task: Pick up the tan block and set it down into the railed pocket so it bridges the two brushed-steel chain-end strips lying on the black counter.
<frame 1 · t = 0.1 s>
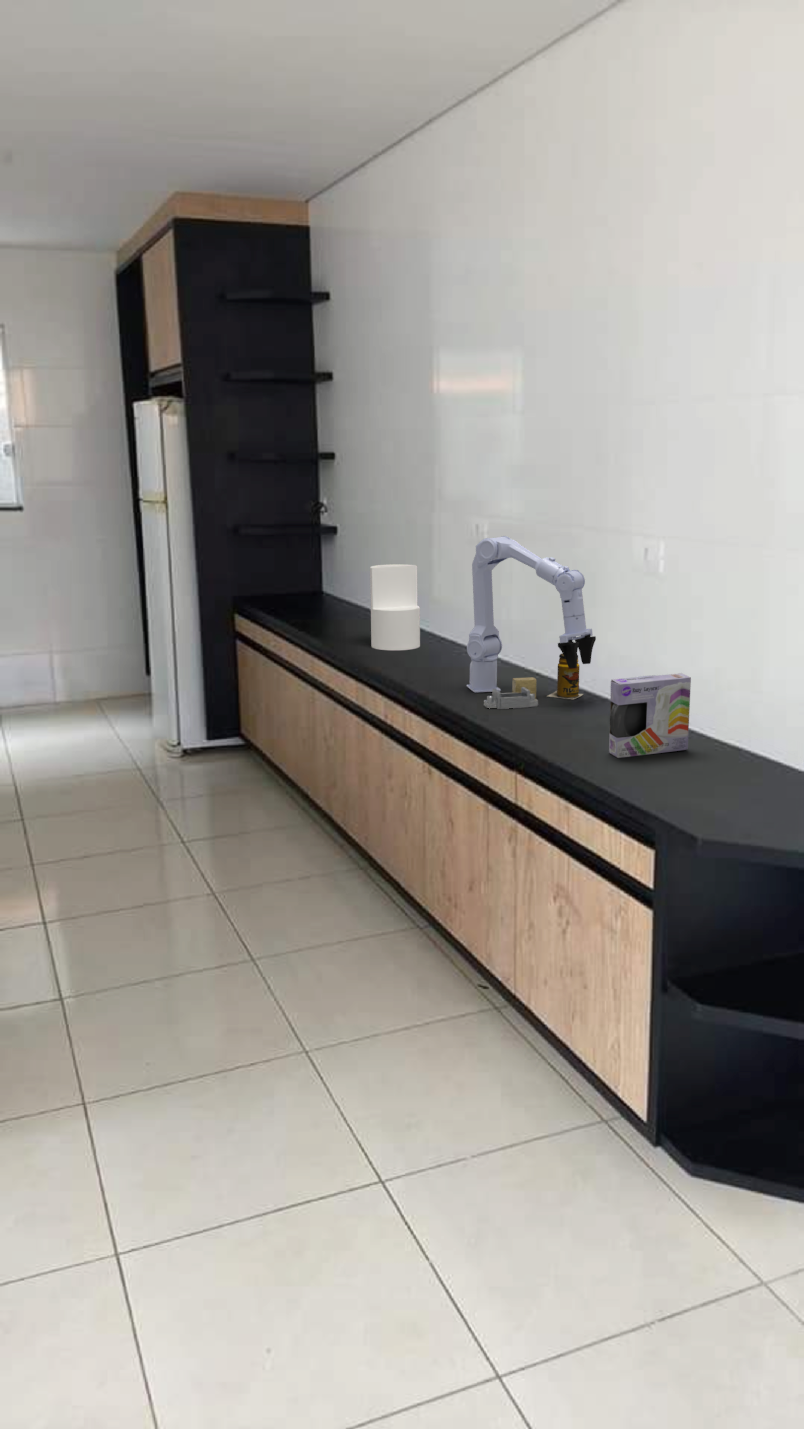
hand: (579, 665, 304), 11 cm above the table, tool pointing down, fingers open, 7 cm apart
tan block: (524, 698, 315), on the table
cylinder: (395, 646, 399), on the table
cake pan box: (646, 753, 258), on the table
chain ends: (510, 705, 305), on the table
condiment: (565, 696, 317), on the table
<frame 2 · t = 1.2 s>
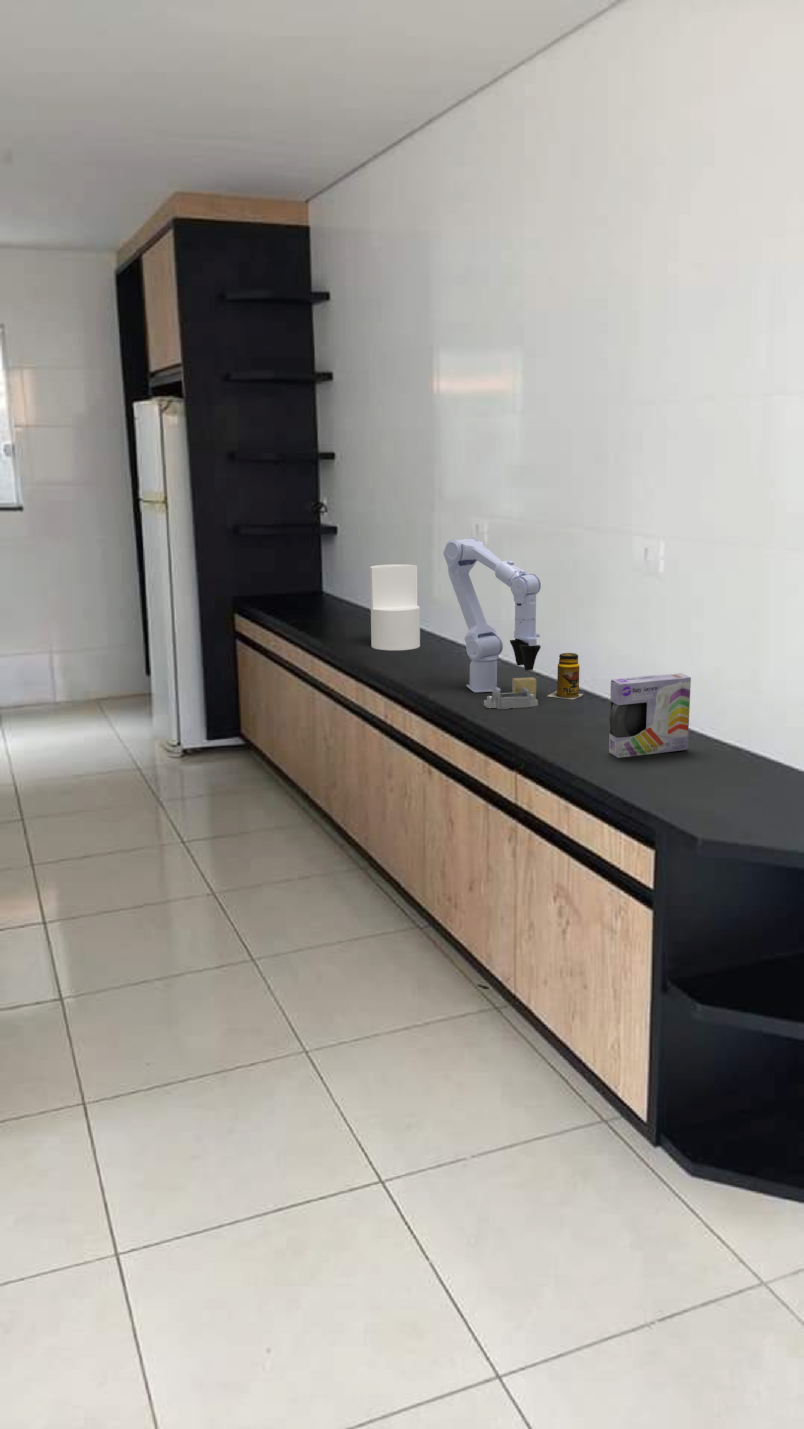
hand: (524, 667, 313), 9 cm above the table, tool pointing down, fingers open, 7 cm apart
nothing on the table moved.
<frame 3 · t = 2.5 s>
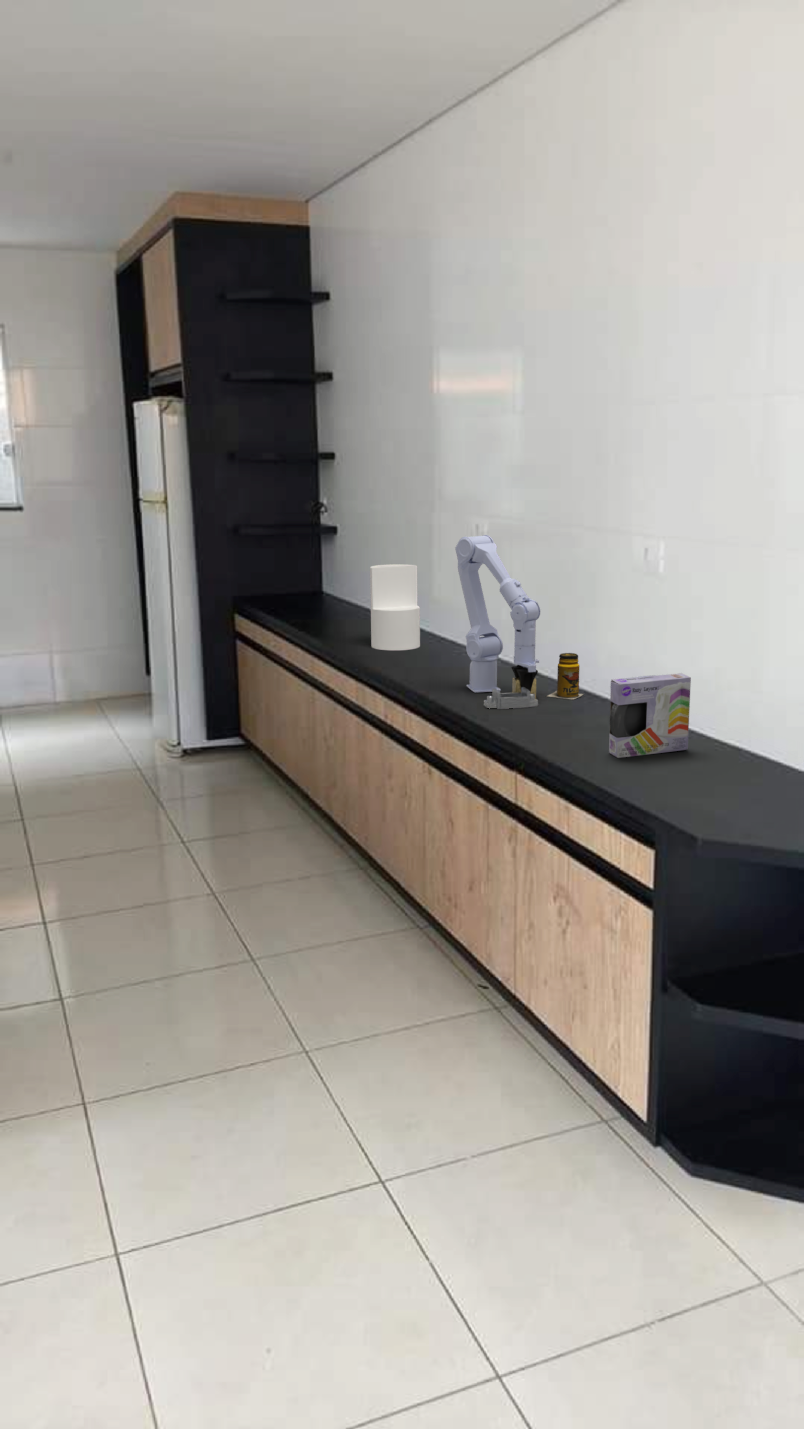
hand: (524, 692, 315), 1 cm above the table, tool pointing down, fingers closed on tan block, 3 cm apart
tan block: (524, 697, 315), on the table, touching gripper
everything else where it was.
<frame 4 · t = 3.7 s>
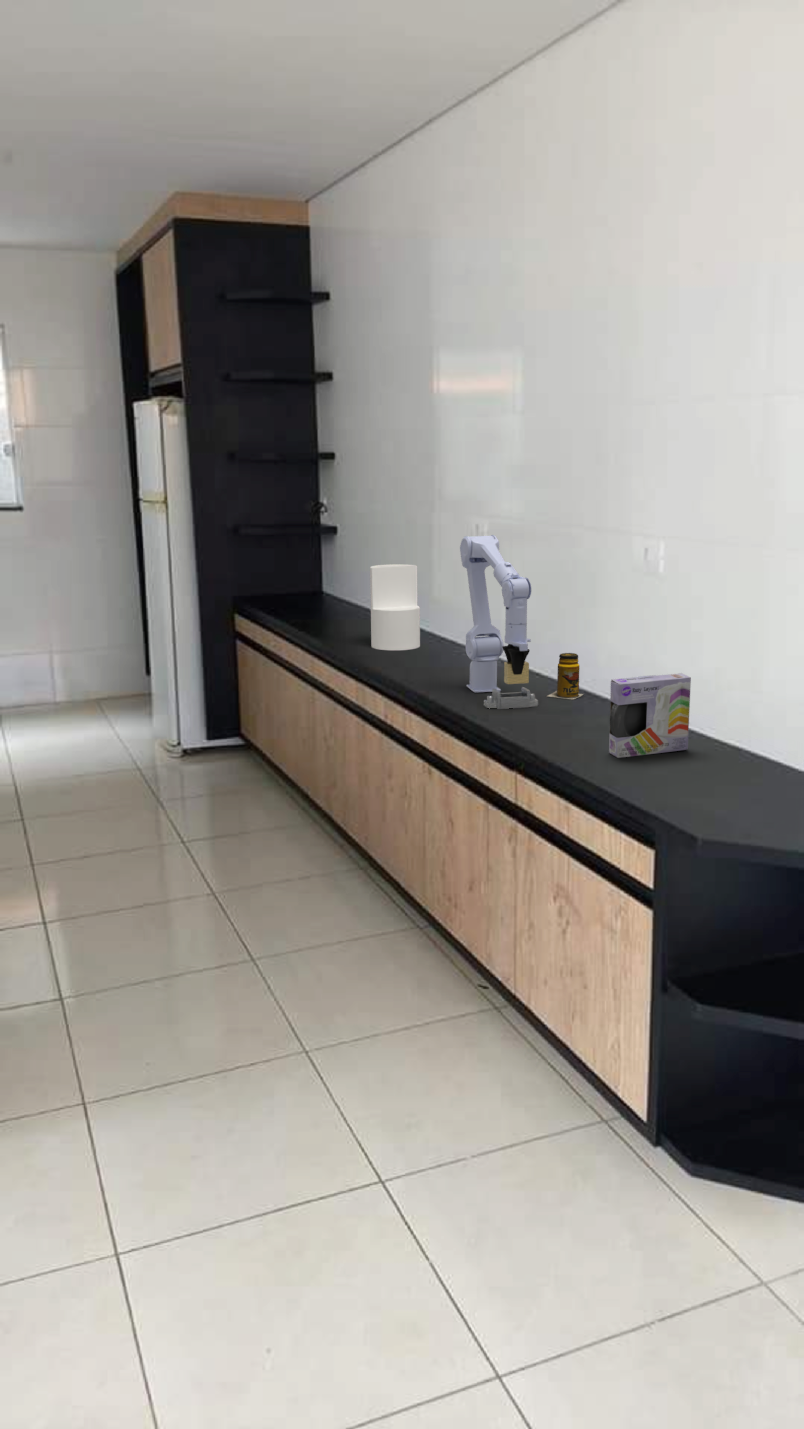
hand: (515, 673, 306), 9 cm above the table, tool pointing down, fingers closed on tan block, 3 cm apart
tan block: (516, 682, 307), point 6 cm above the table, touching gripper
everything else where it was.
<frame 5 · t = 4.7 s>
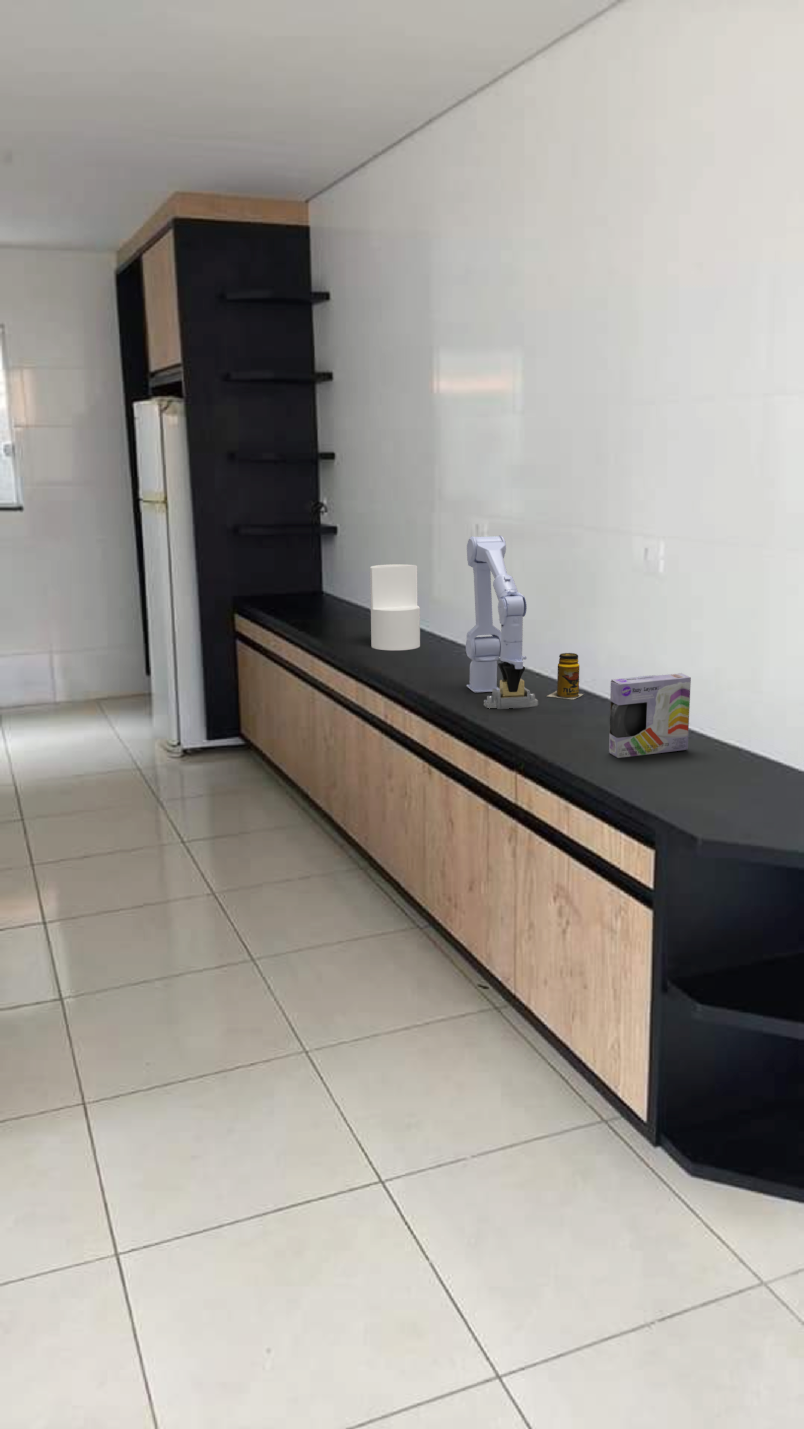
hand: (511, 690, 304), 4 cm above the table, tool pointing down, fingers closed on tan block, 3 cm apart
tan block: (511, 700, 305), point 2 cm above the table, touching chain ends, gripper
everything else where it was.
when the fingers open (4 cm above the table, at t = 5.0 s): tan block stays where it is, resting on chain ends.
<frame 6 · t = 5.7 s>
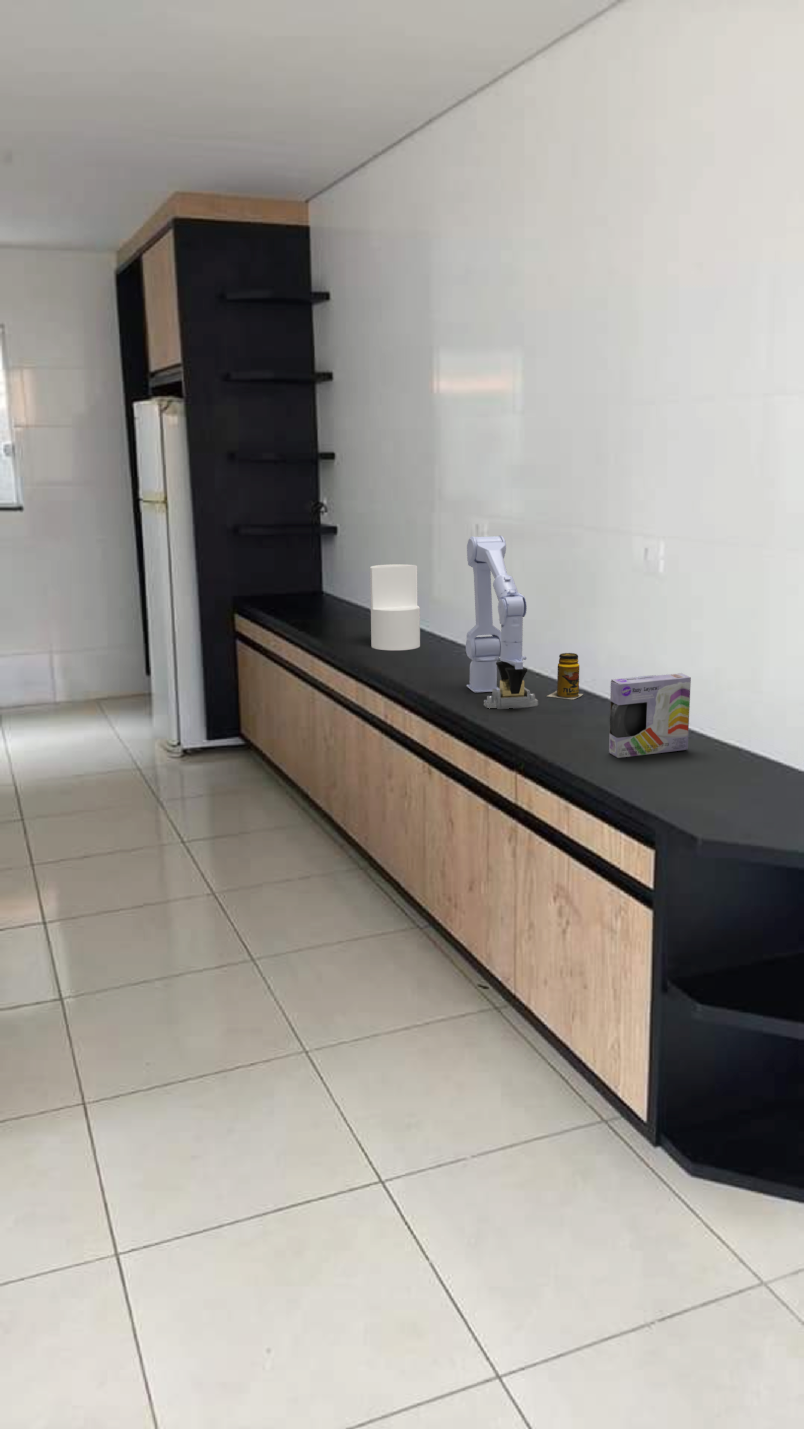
hand: (511, 690, 304), 4 cm above the table, tool pointing down, fingers open, 7 cm apart
tan block: (511, 700, 305), point 2 cm above the table, touching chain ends
everything else where it was.
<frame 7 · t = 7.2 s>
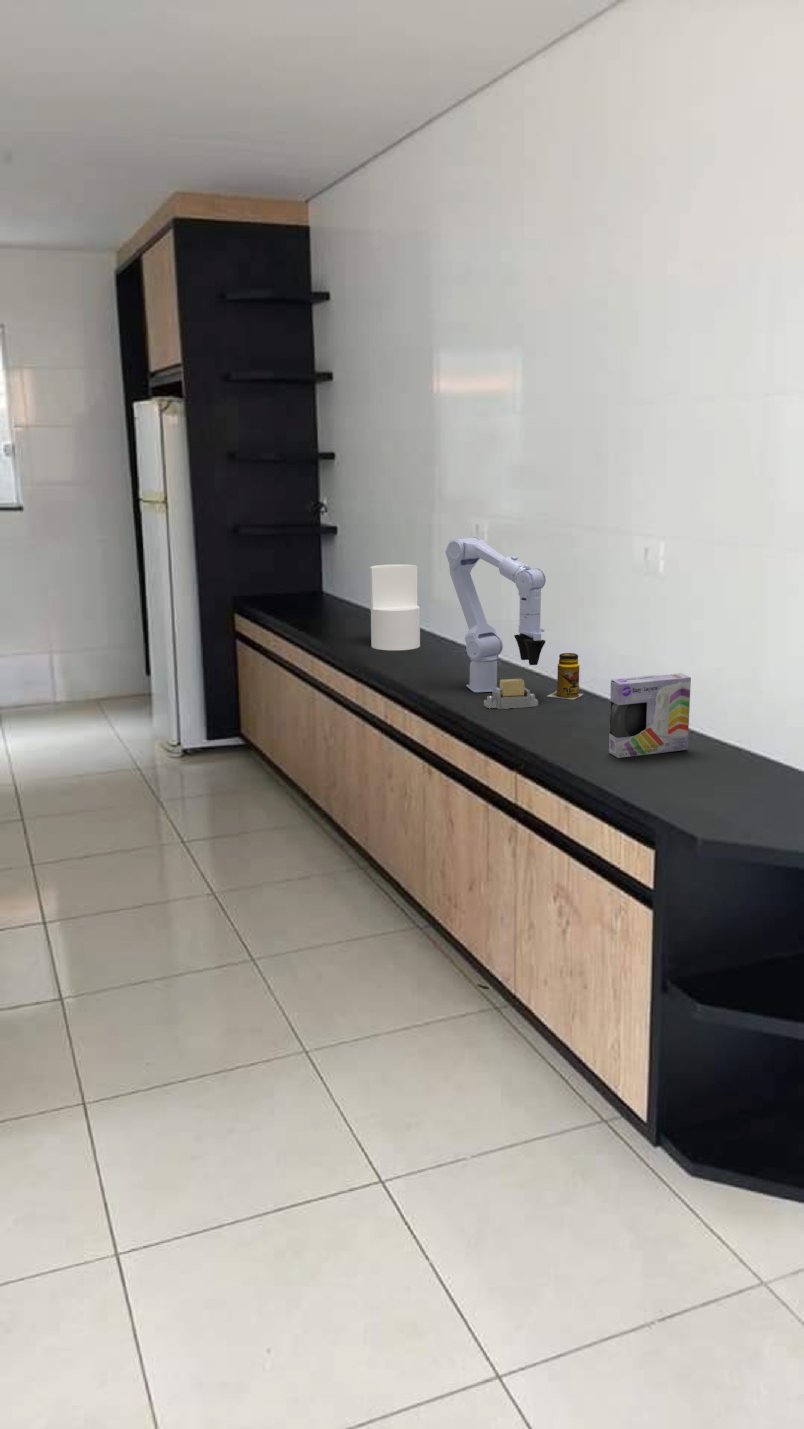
hand: (529, 662, 312), 10 cm above the table, tool pointing down, fingers open, 7 cm apart
nothing on the table moved.
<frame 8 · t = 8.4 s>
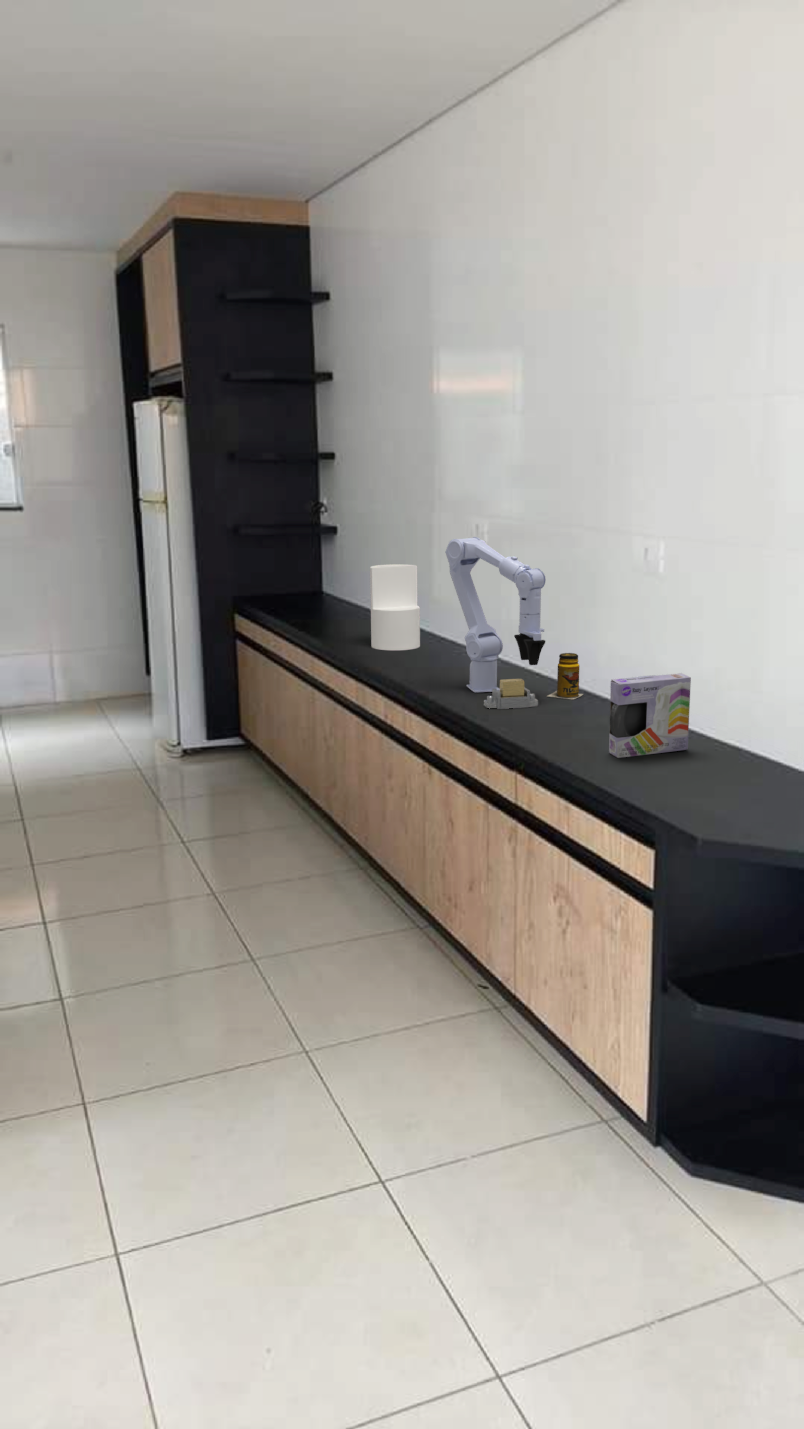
hand: (529, 662, 312), 10 cm above the table, tool pointing down, fingers open, 7 cm apart
nothing on the table moved.
at the end: tan block 0.2 cm off-centre on the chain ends, point 1.6 cm above the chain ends's base; tan block tilted 0°; the gripper is holding nothing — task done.
